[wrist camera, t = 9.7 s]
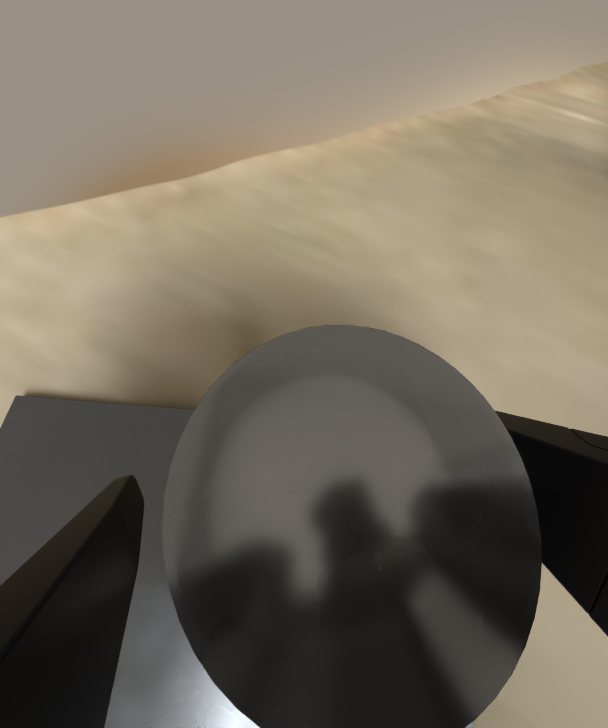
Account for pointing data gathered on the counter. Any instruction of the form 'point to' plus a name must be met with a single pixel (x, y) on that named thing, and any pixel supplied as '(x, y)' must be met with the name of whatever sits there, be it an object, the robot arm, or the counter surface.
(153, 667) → the base
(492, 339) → the counter surface
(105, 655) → the robot arm
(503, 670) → the grey cylindrical piece
